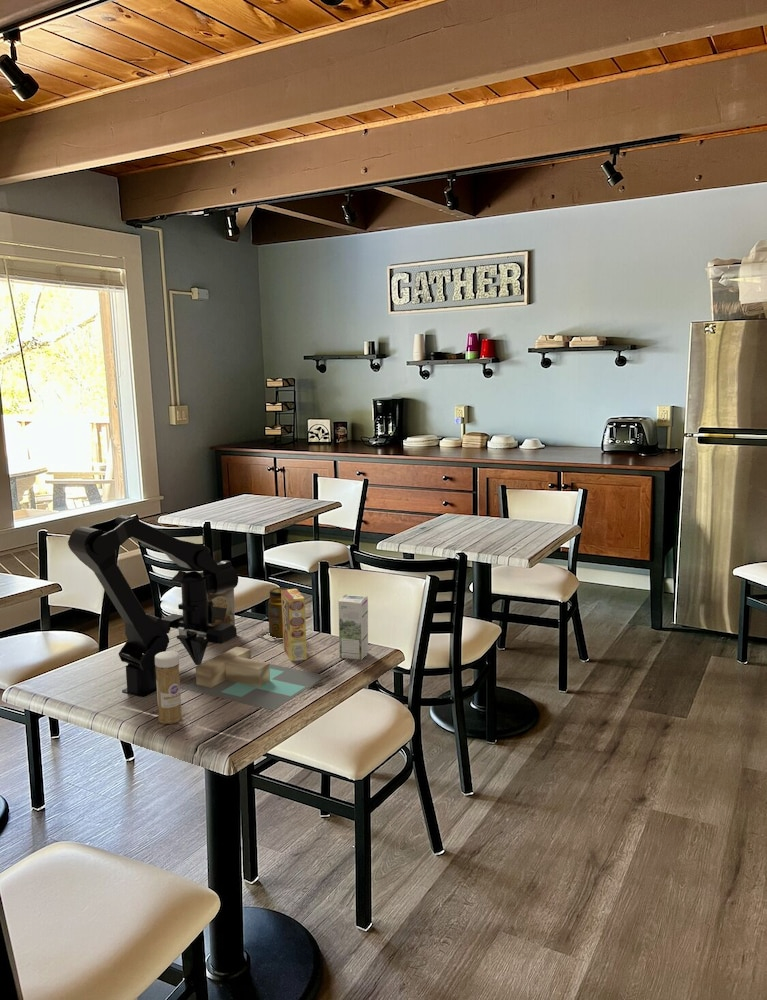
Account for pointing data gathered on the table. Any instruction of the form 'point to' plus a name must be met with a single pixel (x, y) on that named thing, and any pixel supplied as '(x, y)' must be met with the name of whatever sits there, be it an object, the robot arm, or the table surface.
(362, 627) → the syrup box
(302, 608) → the candy box
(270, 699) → the push mat
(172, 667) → the sprinkles bottle
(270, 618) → the condiment
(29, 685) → the table surface
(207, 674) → the t block
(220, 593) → the coffee box
